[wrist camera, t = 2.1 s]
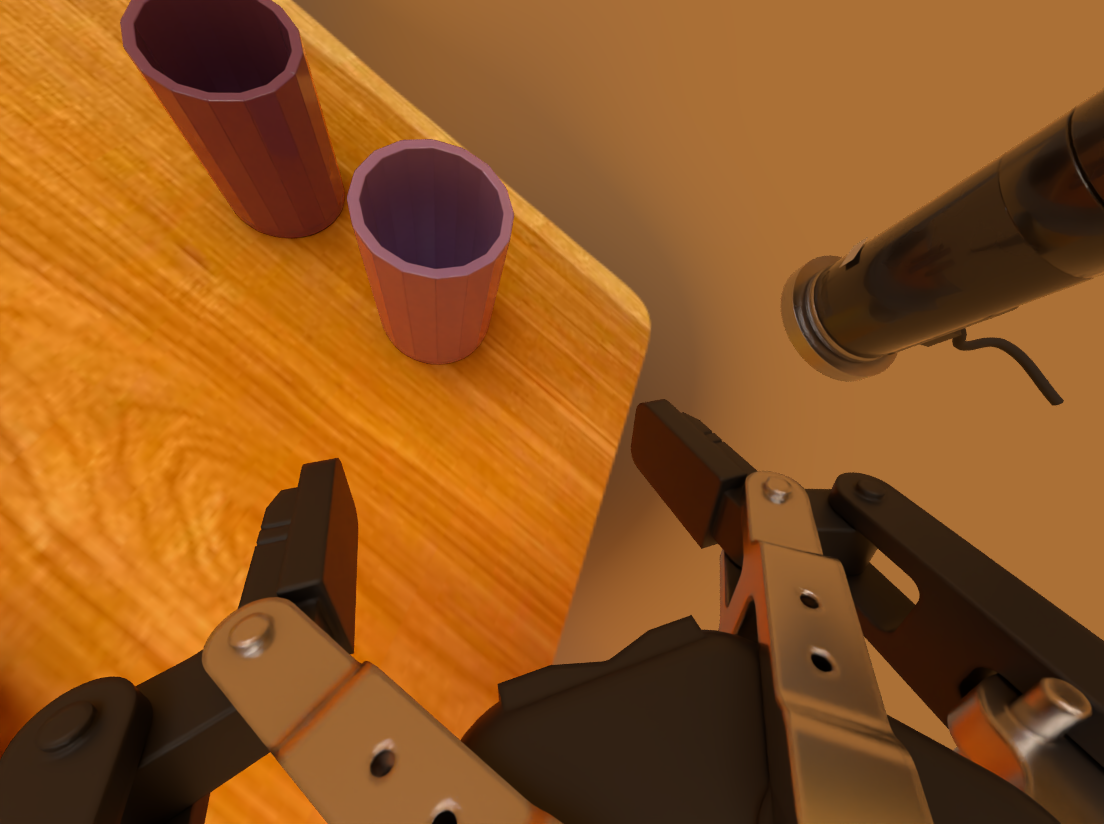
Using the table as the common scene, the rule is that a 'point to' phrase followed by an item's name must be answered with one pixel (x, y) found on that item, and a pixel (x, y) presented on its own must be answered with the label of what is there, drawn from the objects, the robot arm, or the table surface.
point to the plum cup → (242, 106)
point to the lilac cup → (431, 244)
